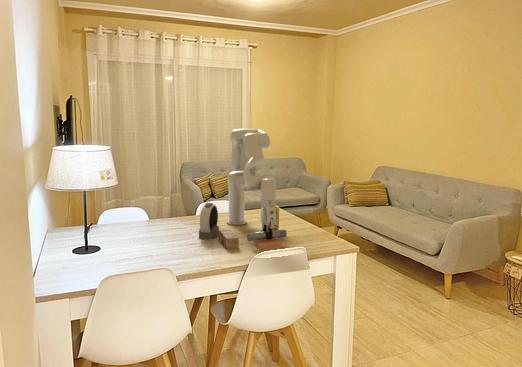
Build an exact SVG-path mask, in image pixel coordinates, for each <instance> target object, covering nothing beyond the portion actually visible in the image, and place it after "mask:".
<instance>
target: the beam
mask: <svg viewBox="0 0 522 367" xmlns="http://www.w3.org/2000/svg"><path fill="white" fill-rule="evenodd" d="M239 238H240V237H239V236H237V234H235V233H234V232H233V231H232V230H231V229H230V228H224V229H223V228H222V229H219V236H218V241H219V242H220V243H221V244H223V247H224V248H225V249H226V250H237V249H239V245H240V244H239V242H240V240H239Z"/></svg>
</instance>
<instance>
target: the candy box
mask: <svg viewBox="0 0 522 367" xmlns="http://www.w3.org/2000/svg"><path fill="white" fill-rule="evenodd" d="M275 209H276V225H275V226H274V229H273V231H274V230H280V206H279V205H277V204H276V206H275ZM269 225H270V224H269ZM269 228H270V227H269ZM261 232H263V224H262V223H261Z"/></svg>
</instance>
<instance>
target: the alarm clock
mask: <svg viewBox="0 0 522 367" xmlns="http://www.w3.org/2000/svg"><path fill="white" fill-rule="evenodd" d="M218 220H219V212H218V207H217V205H216V204H214V203H213V202H206V203H205V204H204V205H203V206H202V208H201V210H200V216H199V230H198V239H199V240H200V239H201V240H210V241H211V240H215V239H216V238H219V230H220V227H219V225H218V222H219V221H218Z"/></svg>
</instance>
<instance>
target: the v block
mask: <svg viewBox="0 0 522 367" xmlns="http://www.w3.org/2000/svg"><path fill="white" fill-rule="evenodd" d="M281 242H282V241H281V240H280V239H278V238H274V239H269V240H267V239H264V240H254V241H253V244H252V245H254V247H256V249H257V250H258V251H262V250H263V251H264V250H270V249H278V248H279V249H280V248H282V243H281Z"/></svg>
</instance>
